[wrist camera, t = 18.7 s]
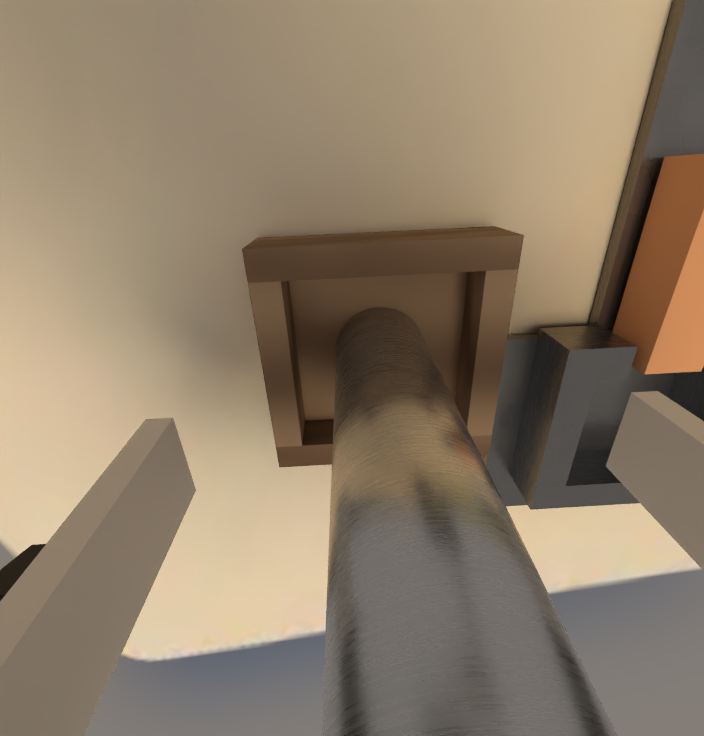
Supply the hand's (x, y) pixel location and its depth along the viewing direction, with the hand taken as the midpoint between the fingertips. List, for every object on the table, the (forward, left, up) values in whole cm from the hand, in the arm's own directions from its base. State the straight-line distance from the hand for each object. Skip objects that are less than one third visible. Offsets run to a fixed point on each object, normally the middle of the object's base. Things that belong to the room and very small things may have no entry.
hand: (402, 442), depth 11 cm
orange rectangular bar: (-3, +12, -8) cm, 15 cm away
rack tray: (0, 0, -8) cm, 8 cm away
